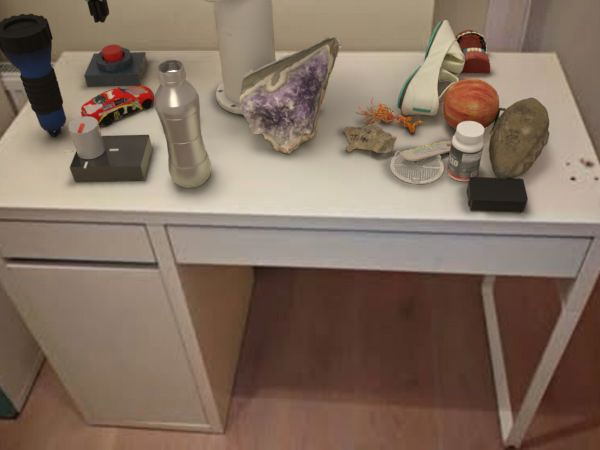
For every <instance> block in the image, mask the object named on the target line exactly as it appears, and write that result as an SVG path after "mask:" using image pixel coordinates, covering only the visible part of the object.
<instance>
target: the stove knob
mask: <svg viewBox="0 0 600 450" xmlns="http://www.w3.org/2000/svg"><path fill="white" fill-rule="evenodd" d="M67 128H68V131H69V133H70V134H69V135H70V137H71V141H72V143H73V146H74V150H75V153H76V152H77V155H78V156H79V157H80V158H82V159H94V158H97V157H99V156H101V155H102V154H103V153H104V152H105V144H104V141H103V138H102V136H103V135H102V131H101V127H100V126H99V124H98V121H97V120H96V119H95V118H93V117H89V116H85V117H82V116H80V117H77V118H75V119H73V120H72V121H70V122H69V124H68V127H67Z"/></svg>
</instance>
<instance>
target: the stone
mask: <svg viewBox="0 0 600 450" xmlns="http://www.w3.org/2000/svg"><path fill="white" fill-rule="evenodd" d="M505 109H506V110H505V111H502V113H500V115H499V118H498V119H497V121H496V123H495V125H494V128H493V131H492V132H491V133H490V138H489V144H488V154H489V161H490V164H491V165H490V166H491V170H492V173H493V174H494V177H495V178H519V177H521V176H523V175H525V174H526V173H527V172H528V171H529V170H530V169H531V168H532V167H533V166H534V164H535V162H536V161H537V160H538V159H539V157H540V155H541V154H542V151H543V150H544V148H545V147H546V145H547V144H548V142H549V138H550V131H549V128H550V118H549V112H548V110H547V108H546V106H545V105H544V104H543V103H541V101H540V100H538V99H537V98H535V97H529V98H528V97H527V98H523V99H521V100H518V101H516V102H514V103H512V104H511V105H509V106H508V107H507V108H505Z"/></svg>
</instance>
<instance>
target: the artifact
mask: <svg viewBox="0 0 600 450" xmlns="http://www.w3.org/2000/svg"><path fill="white" fill-rule="evenodd" d="M342 133H344V134H345V136H346V140H347V142H349V145H347V146H346V147H345V150H346V152H348V153H349V152H352V151H354V150H356V149H359V150H363V151H367V152H375V153H377V154H387V153H391V152H392V151H393V148H394V146H395V143H396V140H397V139H398V138H397V136H396V135H392V134H391V133H390V132H386V131H384V129H383V128H381V127H379V126H378V123H377V121H376V122H375V121H373V122H372V123H371V124H370V123H369V124H368V125H364V126H345V127H344V128H343V132H342Z"/></svg>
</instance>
